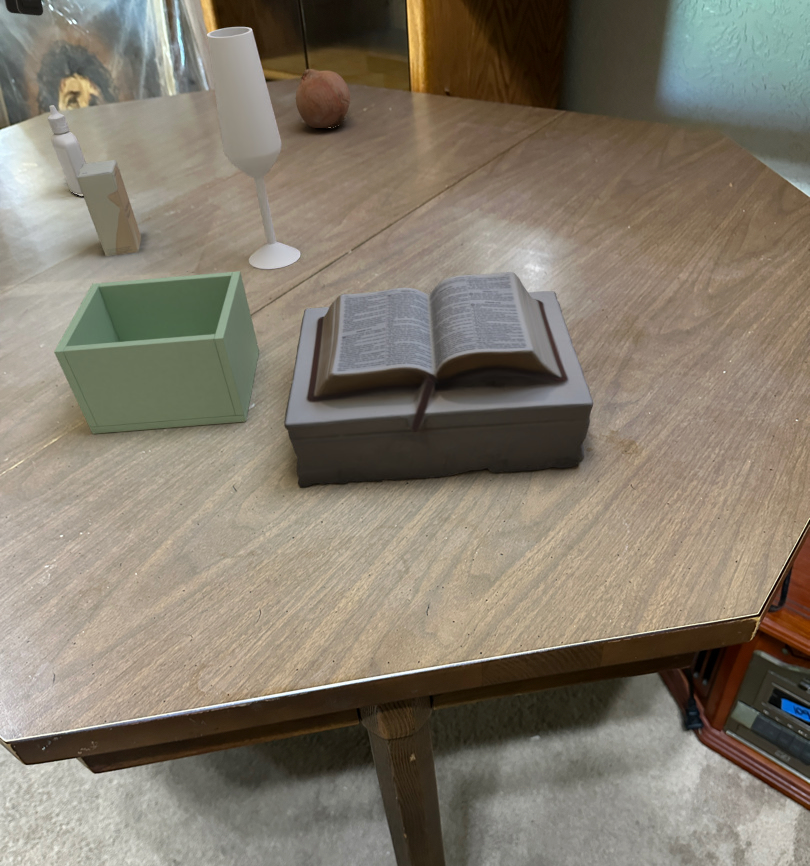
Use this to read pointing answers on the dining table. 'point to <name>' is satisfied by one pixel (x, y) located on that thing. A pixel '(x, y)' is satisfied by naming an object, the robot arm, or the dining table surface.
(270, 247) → the champagne flute
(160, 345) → the storage bin
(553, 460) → the bible
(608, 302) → the dining table surface
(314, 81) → the pomegranate
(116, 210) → the box
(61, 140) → the eye dropper bottle
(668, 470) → the dining table surface
